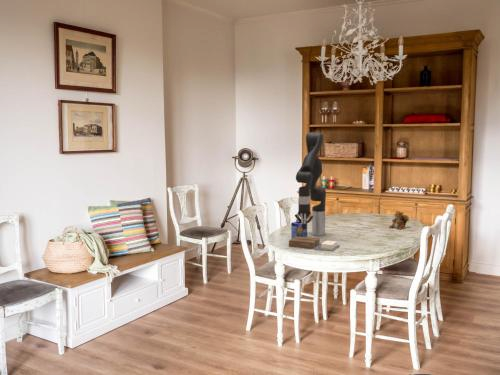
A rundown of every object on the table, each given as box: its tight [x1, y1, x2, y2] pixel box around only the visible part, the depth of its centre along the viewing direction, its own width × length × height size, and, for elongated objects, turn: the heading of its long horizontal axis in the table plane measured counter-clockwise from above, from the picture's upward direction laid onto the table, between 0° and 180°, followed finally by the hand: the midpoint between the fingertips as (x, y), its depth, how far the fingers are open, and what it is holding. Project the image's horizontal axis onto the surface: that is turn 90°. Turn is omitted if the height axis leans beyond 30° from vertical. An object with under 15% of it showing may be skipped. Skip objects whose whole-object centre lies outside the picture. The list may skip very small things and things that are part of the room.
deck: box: [288, 236, 321, 250], centre depth 319 cm, size 14×16×4 cm
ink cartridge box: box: [290, 219, 308, 240], centre depth 333 cm, size 10×6×14 cm, turn 51°
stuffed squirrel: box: [388, 210, 410, 231], centre depth 372 cm, size 10×14×13 cm
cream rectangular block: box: [321, 240, 338, 250], centre depth 312 cm, size 10×7×3 cm
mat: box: [312, 242, 341, 252], centre depth 313 cm, size 15×13×1 cm
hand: (304, 229), depth 319 cm, fingers closed
